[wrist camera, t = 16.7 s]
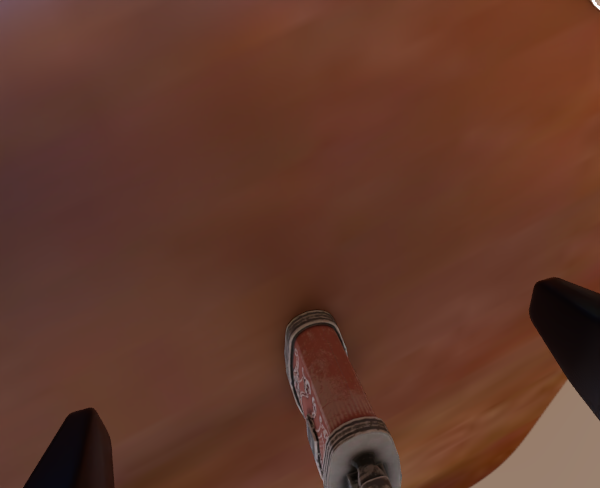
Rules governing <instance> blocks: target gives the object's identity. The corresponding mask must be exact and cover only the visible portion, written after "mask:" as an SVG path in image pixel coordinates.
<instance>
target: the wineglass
mask: <svg viewBox="0 0 600 488" xmlns="http://www.w3.org/2000/svg"><path fill="white" fill-rule="evenodd" d="M589 1H590V2H591V4H592V5H593V6H594V7H595V8H596V9H597V10H598V11H600V0H589Z"/></svg>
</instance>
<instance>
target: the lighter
mask: <svg viewBox="0 0 600 488" xmlns="http://www.w3.org/2000/svg"><path fill="white" fill-rule="evenodd" d="M284 353H285V363H286V373H287V376H288V379H289V383H290V386H291V389H292V392H293V395H294V398H295V401H296V404H297V406H298V407H299V409H300V411H301V413H302V415H303V417H304V418H305V420H306V423H307V436H308V440H309V443H310V446H311V449H312V452H313V455H314V458H315V461H316V464H317V467H318V471H319V474H320V477H321V479H322V480H323V485H324V488H401V479H402V475H401V468H400V461H399V456H398V453H397V450H396V448H395V445H394V442H393V439H392V437H391V435H390V433H389V431H388V429H387V427H386V425H385V423H384V422H383V421H382V419H380V418H377V417H376V415H375V413H374V411H373V409H372V407H371V405H370V402H369V400H368V398H367V396H366V394H365V392H364V390H363V388H362V386H361V384H360V382H359V379H358V377H357V375H356V373H355V371H354V369H353V367H352V365H351V363H350V361H349V359H348V355H347V350H346V346H345V344H344V341H343V339H342V336H341V334H340V331H339V329H338V327H337V324H336V322H335V320H334V318H333V317H332V316H331V314H330V313H328V312H325V311H321V310H314V311H308V312H305V313H303V314H300V315H298V316H297V317H296V318H294V319H293V320H292V321H291V322H290V323H289V325H288V326H287V329H286V336H285V352H284Z"/></svg>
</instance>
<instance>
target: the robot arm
mask: <svg viewBox="0 0 600 488" xmlns="http://www.w3.org/2000/svg"><path fill="white" fill-rule="evenodd" d="M529 315H530V318H531V321H532V323H533V324H534V326H535V327H536V329H537V331H538V332H539V334H540V335H541V337H542V339H543V340H544V342H545V343H546V345H547V347H548V348H549V350H550V351H551V353H552V355H553V356H554V358H555V359H556V361H557V363H558V364H559V366H560V367H561V369H562V371H563V372H564V374H565V375H566V377H567V378H568V380H569V381H570V382H571V384H572V385H573V387H574V388H575V389H576V391H577V392H578V393H579V395H580V396H581V397H582V398H583V400H584V401H585V402H586V404H587V405H588V406H589V407H590V409H591V410H592V411H593V413H594V414H595V415H596V417H597V418H598V419H599V420H600V294H599V293H596V292H594V291H591V290H589V289H586V288H583V287H581V286H578V285H576V284H573V283H570V282H568V281H565V280H563V279H560V278H556V277H553V278H549V279H545V280H541V281H538V282H537V283H536V284H535V286H534V289H533V294H532V299H531V303H530V308H529ZM23 488H114V474H113V460H112V447H111V440H110V436H109V434H108V432H107V430H106V428H105V426H104V424H103V422H102V421H101V419H100V417H99V415H98V413H97V412H96V410H95V409H94V408H86V409H83V410H79V411H76V412H72V413H71V414H69V415H68V416H67V418H66V419H65V421H64V422H63V424H62V426H61V427H60V429H59V430H58V432H57V434H56V435H55V437H54V439H53V440H52V442H51V443H50V445H49V447H48V448H47V450H46V451H45V453H44V455H43V456H42V458H41V460H40V461H39V463H38V464H37V466H36V468H35V469H34V471H33V472H32V474H31V476H30V477H29V479H28V481H27V482H26V484H25V485H24V487H23Z"/></svg>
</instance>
